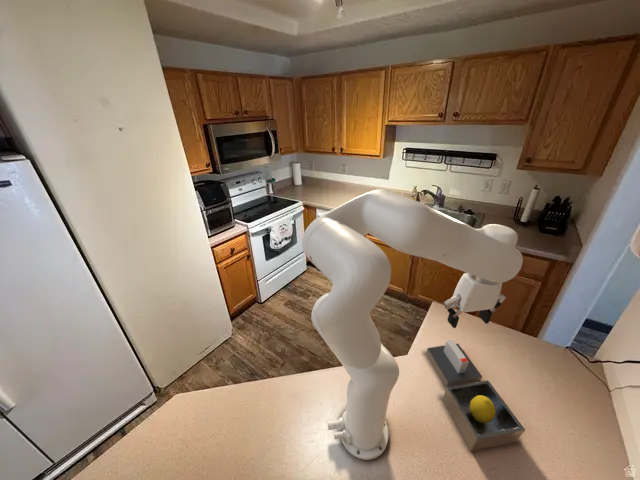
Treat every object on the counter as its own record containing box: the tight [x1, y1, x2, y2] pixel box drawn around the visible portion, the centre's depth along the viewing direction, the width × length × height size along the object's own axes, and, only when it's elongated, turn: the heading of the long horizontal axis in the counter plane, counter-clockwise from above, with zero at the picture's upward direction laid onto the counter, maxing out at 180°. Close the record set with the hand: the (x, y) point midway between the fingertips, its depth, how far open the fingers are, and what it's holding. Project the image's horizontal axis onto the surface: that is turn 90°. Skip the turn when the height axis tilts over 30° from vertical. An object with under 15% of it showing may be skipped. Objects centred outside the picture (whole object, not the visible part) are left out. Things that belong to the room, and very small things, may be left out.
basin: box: [442, 379, 526, 452], centre depth 68 cm, size 13×13×6 cm
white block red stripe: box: [443, 339, 469, 373], centre depth 80 cm, size 8×2×5 cm, turn 8°
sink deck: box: [425, 343, 483, 389], centre depth 82 cm, size 11×12×3 cm
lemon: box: [470, 395, 495, 423], centre depth 67 cm, size 6×6×8 cm
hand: (467, 321), depth 73 cm, fingers open, 9 cm apart
